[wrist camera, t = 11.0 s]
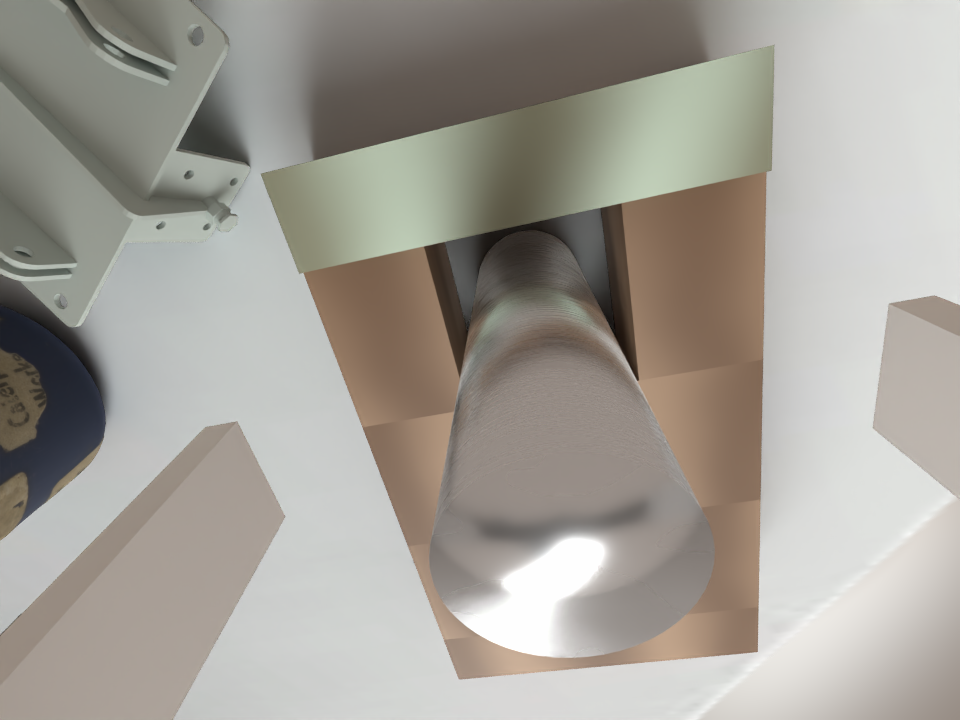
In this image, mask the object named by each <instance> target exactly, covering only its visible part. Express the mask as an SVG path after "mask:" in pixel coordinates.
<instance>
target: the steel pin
mask: <svg viewBox="0 0 960 720" xmlns="http://www.w3.org/2000/svg"><path fill="white" fill-rule="evenodd" d="M714 556H715V547H714V540H713V535H712V531H711V528H710V525H709V522H708V520H707V518H706V516H705V514H704V513H703V511H702V509H701V507H700V505H699V503H698V501H697V499H696V497H695V495H694V493H693V491H692V489H691V487H690V485H689V483H688V481H687V479H686V477H685V475H684V473H683V471H682V469H681V467H680V465H679V463H678V461H677V459H676V457H675V455H674V453H673V451H672V449H671V447H670V445H669V443H668V441H667V439H666V437H665V435H664V433H663V431H662V429H661V427H660V425H659V423H658V421H657V419H656V417H655V415H654V413H653V411H652V409H651V408H650V406H649V404H648V402H647V400H646V398H645V396H644V394H643V392H642V390H641V388H640V386H639V384H638V382H637V380H636V378H635V376H634V374H633V372H632V370H631V368H630V366H629V364H628V362H627V360H626V358H625V356H624V354H623V352H622V350H621V348H620V346H619V344H618V342H617V340H616V338H615V336H614V334H613V332H612V330H611V328H610V326H609V324H608V322H607V320H606V318H605V316H604V314H603V312H602V310H601V308H600V306H599V304H598V303H597V301H596V299H595V297H594V295H593V293H592V291H591V289H590V287H589V285H588V283H587V281H586V279H585V277H584V275H583V273H582V271H581V269H580V267H579V265H578V263H577V261H576V259H575V257H574V255H573V253H572V252H571V251H570V249H569V248H568V247H567V246H566V245H565V244H564V243H563V242H562V241H561V240H559V239H558V238H556V237H554V236H553V235H550V234H548V233H545V232H541V231H533V230H530V231H520V232H516V233H513V234H510V235H508V236H506V237H504V238H502V239H501V240H499V241H498V242H497V243H496V244H494V246H493V247H492V248H491V249H490V250H489V251H488V253H487V254H486V256H485V257H484V259H483V261H482V264H481V267H480V271H479V276H478V281H477V287H476V292H475V298H474V303H473V309H472V314H471V320H470V326H469V331H468V337H467V342H466V348H465V353H464V359H463V364H462V370H461V376H460V381H459V387H458V392H457V398H456V403H455V409H454V414H453V420H452V426H451V431H450V437H449V442H448V448H447V453H446V459H445V464H444V470H443V476H442V481H441V487H440V492H439V498H438V503H437V509H436V514H435V520H434V526H433V531H432V537H431V542H430V551H429V565H430V573H431V576H432V580H433V584H434V586H435V588H436V590H437V592H438V594H439V596H440V598H441V599H442V601H443V602H444V604H445V605H446V607H447V608H448V609H449V610H450V611H451V612H452V614H453V615H454V616H455V617H456V618H457V619H458V620H460V621H461V622H462V623H463V624H464V625H465V626H467V627H468V628H469V629H471V630H472V631H474V632H475V633H477V634H478V635H480V636H482V637H484V638H486V639H488V640H490V641H492V642H494V643H496V644H499V645H501V646H504V647H506V648H509V649H513V650H516V651H520V652H523V653H528V654H533V655H538V656H547V657H561V658H576V657H590V656H597V655H604V654H609V653H613V652H617V651H621V650H624V649H627V648H630V647H634V646H636V645H639V644H641V643H643V642H646V641H648V640H650V639H652V638H654V637H656V636H658V635H659V634H661V633H663V632H665V631H666V630H667V629H669V628H670V627H672V626H673V625H675V624H676V623H677V622H678V621H680V620H681V619H682V618H683V617H684V616H685V615H686V614H687V613H688V612H689V611H690V610H691V609H692V608H693V607H694V605H695V604H696V603H697V602H698V600H699V599H700V597H701V596H702V594H703V593H704V591H705V589H706V587H707V585H708V582H709V580H710V578H711V574H712V570H713V566H714Z"/></svg>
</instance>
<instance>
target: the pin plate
mask: <svg viewBox="0 0 960 720" xmlns="http://www.w3.org/2000/svg"><path fill="white" fill-rule="evenodd" d="M773 83H774V45H772V46H768V47H764V48H760V49H756V50H752V51H748V52H744V53H740V54H736V55H732V56H728V57H724V58H720V59H716V60H712V61H708V62H704V63H700V64H696V65H692V66H688V67H684V68H680V69H676V70H672V71H668V72H664V73H660V74H656V75H652V76H648V77H644V78H640V79H636V80H632V81H628V82H624V83H620V84H616V85H612V86H608V87H605V88H601V89H597V90H593V91H589V92H585V93H581V94H577V95H573V96H569V97H565V98H561V99H557V100H553V101H549V102H545V103H541V104H537V105H533V106H529V107H525V108H521V109H517V110H513V111H509V112H505V113H501V114H497V115H493V116H489V117H485V118H481V119H477V120H473V121H469V122H465V123H461V124H457V125H453V126H449V127H445V128H441V129H437V130H433V131H429V132H425V133H421V134H417V135H413V136H409V137H405V138H402V139H398V140H394V141H390V142H386V143H382V144H378V145H374V146H370V147H366V148H362V149H358V150H354V151H350V152H346V153H342V154H338V155H334V156H330V157H326V158H322V159H318V160H314V161H310V162H306V163H302V164H298V165H294V166H290V167H286V168H282V169H278V170H274V171H270V172H266V173H262V174H261V176H262V179H263V181H264V184H265V186H266V189H267V191H268V194H269V197H270V199H271V202H272V204H273V207H274V210H275V212H276V215H277V217H278V220H279V223H280V225H281V228H282V230H283V233H284V235H285V238H286V241H287V243H288V246H289V248H290V251H291V254H292V256H293V259H294V261H295V264H296V267H297V269H298V272H299V274H300V273H304V276H305V278H306V281H307V283H308V286H309V289H310V291H311V294H312V296H313V299H314V302H315V304H316V307H317V309H318V312H319V315H320V317H321V320H322V323H323V325H324V328H325V330H326V333H327V336H328V338H329V341H330V343H331V346H332V349H333V351H334V354H335V357H336V359H337V362H338V364H339V367H340V370H341V372H342V375H343V377H344V380H345V383H346V385H347V388H348V391H349V393H350V396H351V398H352V401H353V404H354V406H355V409H356V411H357V414H358V417H359V419H360V422H361V425H362V427H363V430H364V432H365V435H366V438H367V440H368V443H369V445H370V448H371V451H372V453H373V456H374V459H375V461H376V464H377V466H378V469H379V472H380V474H381V477H382V479H383V482H384V485H385V487H386V490H387V493H388V495H389V498H390V500H391V503H392V506H393V508H394V511H395V513H396V516H397V519H398V521H399V524H400V527H401V529H402V532H403V534H404V537H405V540H406V542H407V545H408V547H409V550H410V553H411V555H412V558H413V561H414V563H415V566H416V568H417V571H418V574H419V576H420V579H421V581H422V584H423V587H424V589H425V592H426V595H427V597H428V600H429V602H430V605H431V608H432V610H433V613H434V615H435V618H436V621H437V623H438V626H439V629H440V631H441V634H442V636H443V639H444V642H445V644H446V647H447V649H448V652H449V655H450V657H451V660H452V662H453V665H454V668H455V670H456V673H457V676H458V678H459V679H470V678H481V677H492V676H502V675H513V674H524V673H535V672H546V671H557V670H568V669H579V668H589V667H600V666H611V665H622V664H633V663H644V662H655V661H665V660H676V659H687V658H698V657H709V656H720V655H731V654H742V653H752V652H758V602H759V547H760V492H761V437H762V382H763V327H764V272H765V217H766V172H767V171H771V170H772V128H773ZM597 208H601V214H602V222H603V231H604V240H605V248H606V257H607V265H608V274H609V282H610V291H611V299H612V308H613V316H614V325H615V333H616V335H615V338H616V340H617V342H618V344H619V346H620V348H621V350H622V352H623V354H624V356H625V358H626V360H627V362H628V364H629V366H630V368H631V370H632V372H633V374H634V376H635V378H636V380H637V382H638V384H639V386H640V388H641V390H642V392H643V394H644V396H645V398H646V400H647V402H648V404H649V406H650V408H651V409H652V411H653V413H654V415H655V417H656V419H657V421H658V423H659V425H660V427H661V429H662V431H663V433H664V435H665V437H666V439H667V441H668V443H669V445H670V447H671V449H672V451H673V453H674V455H675V457H676V459H677V461H678V463H679V465H680V467H681V469H682V471H683V473H684V475H685V477H686V479H687V481H688V483H689V485H690V487H691V489H692V491H693V493H694V495H695V497H696V499H697V501H698V503H699V505H700V507H701V509H702V511H703V513H704V514H705V516H706V518H707V520H708V522H709V525H710V528H711V531H712V535H713V540H714V547H715V556H714V566H713V570H712V574H711V578H710V580H709V582H708V585H707V587H706V589H705V591H704V593H703V594H702V596H701V597H700V599H699V600H698V602H697V603H696V604H695V605H694V607H693V608H692V609H691V610H690V611H689V612H688V613H687V614H686V615H685V616H684V617H683V618H682V619H681V620H680V621H678V622H677V623H676V624H675V625H673V626H672V627H670V628H669V629H667V630H666V631H665V632H663V633H661V634H659V635H658V636H656V637H654V638H652V639H650V640H648V641H646V642H643V643H641V644H639V645H636V646H634V647H630V648H627V649H624V650H621V651H617V652H613V653H609V654H604V655H597V656H590V657H576V658H561V657H547V656H538V655H533V654H528V653H523V652H520V651H516V650H513V649H509V648H506V647H504V646H501V645H499V644H496V643H494V642H492V641H490V640H488V639H486V638H484V637H482V636H480V635H478V634H477V633H475V632H474V631H472V630H471V629H469V628H468V627H467V626H465V625H464V624H463V623H462V622H461V621H460V620H458V619H457V618H456V617H455V616H454V615H453V614H452V612H451V611H450V610H449V609H448V608H447V607H446V605H445V604H444V602H443V601H442V599H441V598H440V596H439V594H438V592H437V590H436V588H435V586H434V584H433V580H432V576H431V573H430V565H429V551H430V542H431V537H432V531H433V526H434V520H435V514H436V509H437V503H438V498H439V492H440V487H441V481H442V476H443V470H444V464H445V459H446V453H447V448H448V442H449V437H450V431H451V426H452V420H453V414H454V409H455V403H456V398H457V392H458V387H459V381H460V376H461V370H462V364H463V359H464V353H465V348H466V342H467V337H468V333H467V329H466V325H465V321H464V317H463V313H462V309H461V306H460V302H459V298H458V294H457V290H456V286H455V282H454V278H453V274H452V270H451V266H450V262H449V258H448V254H447V250H446V246H445V242H446V241H451V240H455V239H460V238H465V237H469V236H474V235H478V234H483V233H487V232H492V231H497V230H501V229H506V228H510V227H515V226H519V225H524V224H529V223H533V222H538V221H542V220H547V219H552V218H556V217H561V216H565V215H570V214H574V213H579V212H584V211H588V210H593V209H597Z"/></svg>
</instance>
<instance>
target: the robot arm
mask: <svg viewBox="0 0 960 720" xmlns="http://www.w3.org/2000/svg"><path fill="white" fill-rule="evenodd" d="M873 429H874V430H875V431H877V432H878V433H879V434H880V435H882V436H883V437H884V438H885V439H886V440H888V441H889V442H890V443H891V444H892V445H894V446H895V447H896V448H897V449H899V450H900V451H901V452H902V453H903V454H905V455H906V456H907V457H908V458H910V459H911V460H912V461H913V462H914V463H916V464H917V465H918V466H919V467H921V468H922V469H923V470H924V471H925V472H927V473H928V474H929V475H930V476H932V477H933V478H934V479H935V480H936V481H938V482H939V483H940V484H941V485H942V486H944V487H945V488H946V489H947V490H949V491H950V492H951V493H952V494H953V495H955V496H956V497H957V498H958V499H960V305H958V304H955V303H952V302H950V301H947V300H945V299H942V298H940V297H937V296H935V295H934V296H929V297H923V298H918V299H912V300H907V301H901V302H896V303H890V304H889V306H888V314H887V322H886V330H885V337H884V345H883V353H882V360H881V368H880V376H879V383H878V391H877V399H876V406H875V414H874V422H873ZM284 518H285V515H284V513H283V511H282V509H281V507H280V505H279V503H278V501H277V499H276V497H275V495H274V493H273V491H272V489H271V487H270V485H269V483H268V481H267V479H266V477H265V475H264V473H263V472H262V470H261V468H260V466H259V464H258V462H257V460H256V458H255V456H254V454H253V452H252V450H251V448H250V446H249V444H248V442H247V440H246V438H245V436H244V434H243V432H242V430H241V428H240V426H239V424H238V422H231V423H226V424H220V425H215V426H209V427H205V428H204V429H203V430H202V431H201V432H200V433H199V434H198V435H197V436H196V437H195V438H194V439H193V440H192V441H191V442H190V443H189V444H188V445H187V446H186V447H185V448H184V450H183V451H182V452H181V453H180V454H179V455H178V456H177V457H176V458H175V459H174V460H173V461H172V462H171V463H170V464H169V465H168V466H167V467H166V468H165V469H164V470H163V471H162V472H161V473H160V474H159V475H158V476H157V477H156V478H155V479H154V480H153V481H152V482H151V483H150V484H149V485H148V486H147V487H146V488H145V489H144V490H143V491H142V492H141V493H140V494H139V495H138V496H137V497H136V498H135V499H134V500H133V501H132V502H131V503H130V504H129V505H128V506H127V507H126V508H125V509H124V511H123V512H122V513H121V514H120V515H119V516H118V517H117V518H116V519H115V520H114V521H113V522H112V523H111V524H110V525H109V526H108V527H107V528H106V529H105V530H104V531H103V532H102V533H101V534H100V535H99V536H98V537H97V538H96V539H95V540H94V541H93V542H92V543H91V544H90V545H89V546H88V547H87V548H86V549H85V550H84V551H83V552H82V553H81V554H80V555H79V556H78V557H77V558H76V559H75V560H74V561H73V562H72V563H71V564H70V565H69V566H68V567H67V568H66V569H65V570H64V571H63V573H62V574H61V575H60V576H59V577H58V578H57V579H56V580H55V581H54V582H53V583H52V584H51V585H50V586H49V587H48V588H47V589H46V590H45V591H44V592H43V593H42V594H41V595H40V596H39V597H38V598H37V599H36V600H35V601H34V602H33V603H32V604H31V605H30V606H29V607H28V608H27V609H26V610H25V611H24V612H23V613H22V614H21V615H19V616H18V617H17V618H16V620H15V621H14V622H13V623H12V624H11V625H10V626H9V627H8V628H7V629H6V630H5V631H4V632H3V633H2V634H1V635H0V720H173V718H174V717H175V715H176V713H177V711H178V709H179V708H180V706H181V704H182V702H183V700H184V699H185V697H186V695H187V693H188V691H189V690H190V688H191V686H192V684H193V682H194V680H195V679H196V677H197V675H198V673H199V671H200V670H201V668H202V666H203V664H204V662H205V661H206V659H207V657H208V655H209V653H210V652H211V650H212V648H213V646H214V644H215V643H216V641H217V639H218V637H219V635H220V634H221V632H222V630H223V628H224V626H225V625H226V623H227V621H228V619H229V617H230V616H231V614H232V612H233V610H234V608H235V607H236V605H237V603H238V601H239V599H240V598H241V596H242V594H243V592H244V590H245V589H246V587H247V585H248V583H249V581H250V580H251V578H252V576H253V574H254V572H255V571H256V569H257V567H258V565H259V563H260V562H261V560H262V558H263V556H264V554H265V553H266V551H267V549H268V547H269V545H270V544H271V542H272V540H273V538H274V536H275V535H276V533H277V531H278V529H279V527H280V526H281V524H282V522H283V520H284Z"/></svg>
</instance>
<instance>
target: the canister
mask: <svg viewBox="0 0 960 720" xmlns="http://www.w3.org/2000/svg"><path fill="white" fill-rule="evenodd" d="M105 424H106V421H105V410H104V406H103V402H102V399H101V396H100V393H99V391H98V389H97V387H96V385H95V383H94V381H93V379H92V377H91V376H90V374H89V373H88V371H87V370H86V368H85V367H84V365H83V364H82V363H81V361H80V360H79V359H78V358H77V356H76V355H75V354H74V353H73V352H72V351H71V350H70V349H69V348H68V347H67V346H66V345H65V344H64V343H63V342H62V341H60V340H59V339H58V338H57V337H56V336H55V335H53V334H52V333H51V332H50V331H48V330H47V329H46V328H44V327H43V326H41V325H39V324H38V323H36V322H34V321H33V320H31V319H29V318H28V317H26V316H24V315H22V314H20V313H18V312H15V311H13V310H11V309H9V308H6V307H3V306H0V540H2V539H3V538H4V537H6V536H7V535H8V534H9V533H10V532H11V531H12V530H13V529H14V528H15V527H16V526H18V525H19V524H20V523H21V522H22V521H24V520H25V519H26V518H27V517H28V516H29V515H31V514H32V513H33V512H34V511H35V510H37V509H38V508H39V507H40V506H42V505H43V504H44V503H46V502H47V501H48V500H49V499H50V498H52V497H53V496H54V495H55V494H56V493H58V492H59V491H60V490H61V489H62V488H64V487H65V486H66V485H67V484H68V483H69V482H71V481H72V480H73V479H74V478H75V477H76V476H78V475H79V474H80V473H81V472H82V471H83V470H84V469H85V468H86V467H87V466H88V465H89V464H90V463H91V462H92V460H93V459H94V457H95V456H96V454H97V453H98V451H99V449H100V446H101V444H102V441H103V438H104V431H105Z"/></svg>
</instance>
